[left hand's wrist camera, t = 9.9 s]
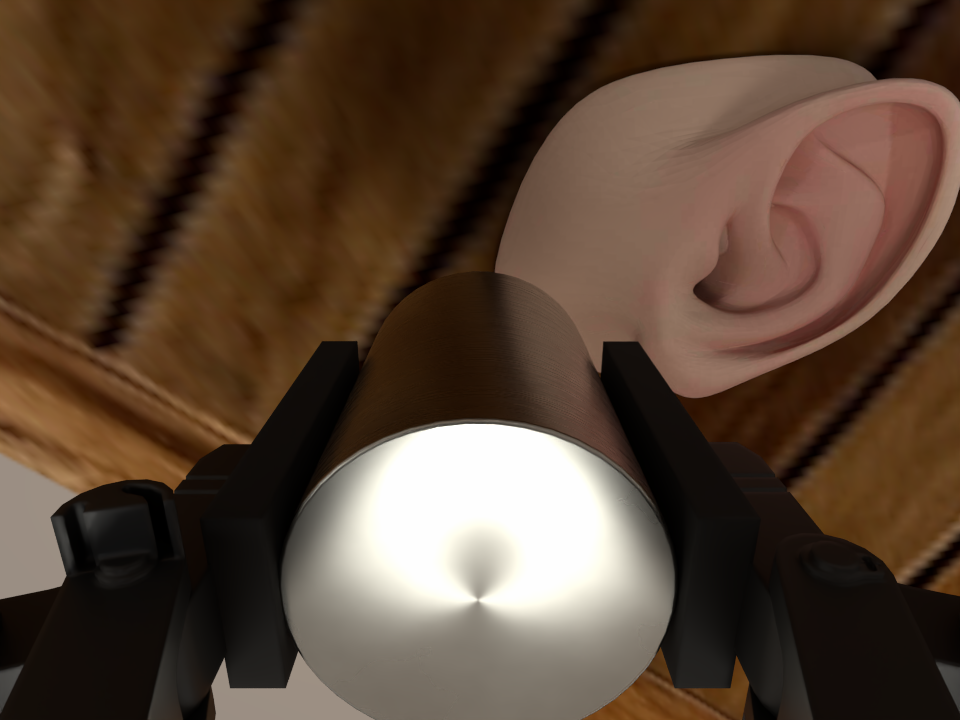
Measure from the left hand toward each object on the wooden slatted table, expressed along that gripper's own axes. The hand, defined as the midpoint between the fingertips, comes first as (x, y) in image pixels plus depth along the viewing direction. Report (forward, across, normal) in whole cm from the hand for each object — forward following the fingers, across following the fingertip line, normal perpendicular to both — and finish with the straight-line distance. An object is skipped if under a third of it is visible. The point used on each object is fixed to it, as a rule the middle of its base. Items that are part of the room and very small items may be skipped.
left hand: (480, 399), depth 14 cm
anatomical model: (+10, +7, +2) cm, 12 cm away
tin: (+1, 0, 0) cm, 1 cm away
